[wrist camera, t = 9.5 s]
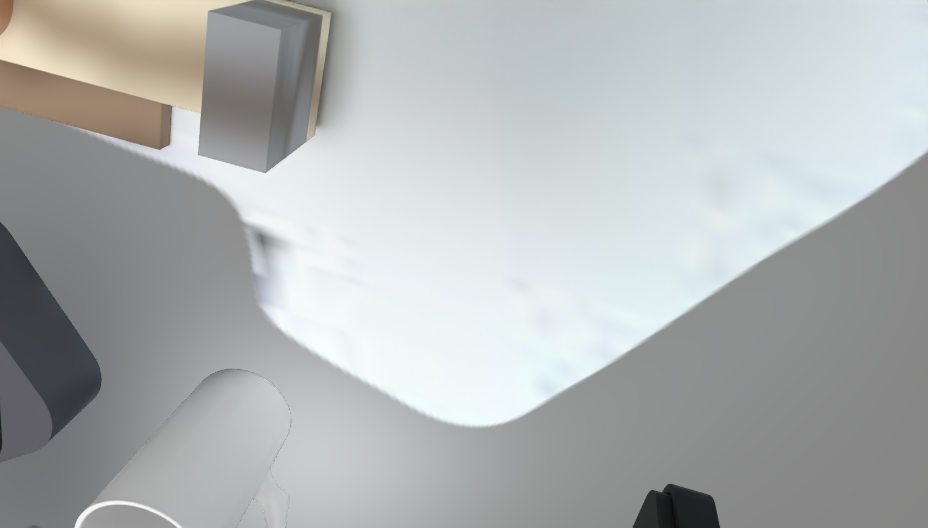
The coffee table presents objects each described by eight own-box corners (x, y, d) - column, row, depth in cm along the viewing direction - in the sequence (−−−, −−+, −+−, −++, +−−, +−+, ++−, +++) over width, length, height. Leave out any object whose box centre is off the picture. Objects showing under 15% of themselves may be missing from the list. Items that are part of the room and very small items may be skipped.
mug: (171, 396, 47) (46, 536, 37) (242, 344, 45) (130, 479, 34) (280, 504, 50) (192, 666, 39) (353, 461, 47) (281, 621, 36)
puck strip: (-110, -103, 36) (-239, -107, 30) (331, 12, 35) (280, 29, 29) (-97, 25, 38) (-213, 43, 33) (314, 135, 37) (265, 173, 32)
